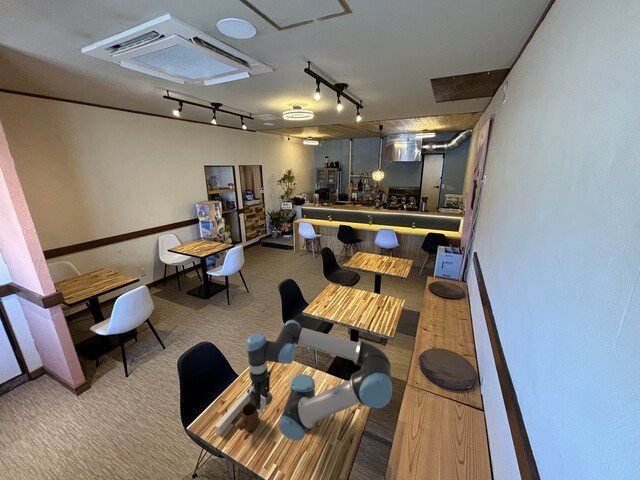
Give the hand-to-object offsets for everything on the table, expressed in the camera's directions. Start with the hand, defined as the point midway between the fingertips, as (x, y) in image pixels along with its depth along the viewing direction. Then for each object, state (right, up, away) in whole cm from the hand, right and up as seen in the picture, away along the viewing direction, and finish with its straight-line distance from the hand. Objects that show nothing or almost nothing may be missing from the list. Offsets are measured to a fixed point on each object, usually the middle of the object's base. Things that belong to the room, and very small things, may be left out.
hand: (261, 410), depth 116 cm
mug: (-9, -15, +9) cm, 19 cm away
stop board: (-17, -13, +15) cm, 26 cm away
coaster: (-5, -10, +24) cm, 27 cm away
